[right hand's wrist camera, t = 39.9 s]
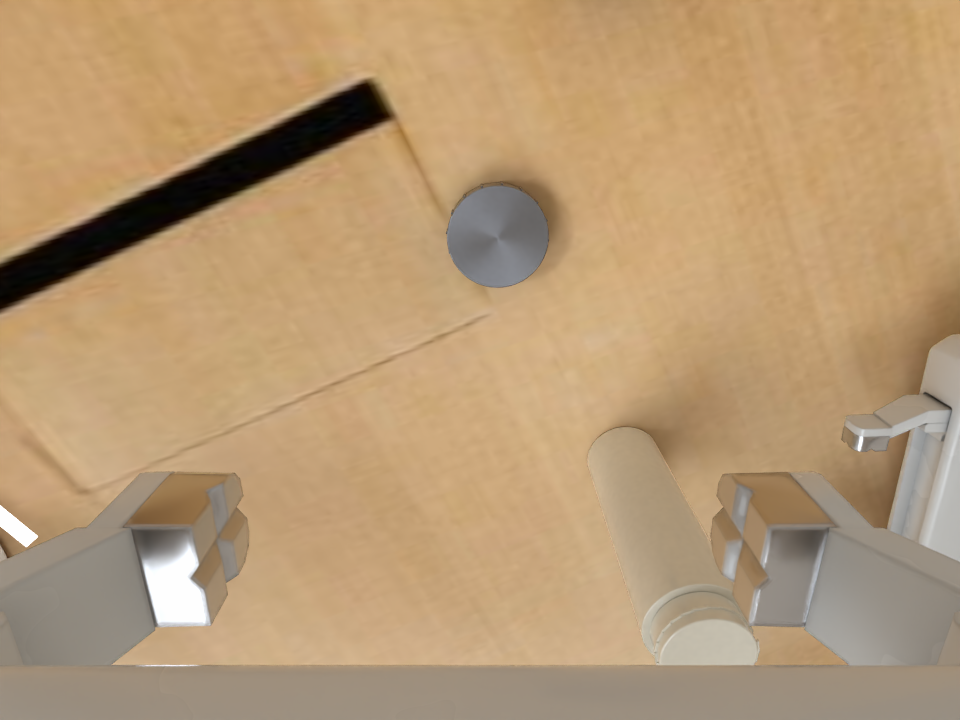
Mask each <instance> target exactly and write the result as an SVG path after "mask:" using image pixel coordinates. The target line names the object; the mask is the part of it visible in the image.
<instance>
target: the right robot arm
mask: <svg viewBox="0 0 960 720" xmlns="http://www.w3.org/2000/svg"><path fill="white" fill-rule="evenodd" d="M242 497H243V491H242V486H241V481H240V478H239V477H238V476H237V475H236V474H235V473H211V472H173V471H166V472H145V473H140V474H139V475H138V476H137V477H136V478H135V479H134V480H133V481H132V482H131V483H130V484H129V485H128V486H127V487H126V488H125V489H124V490H123V491H122V492H121V493H120V494H119V495H118V496H117V497H116V498H115V499H114V500H113V501H112V502H111V503H110V504H109V505H108V506H107V507H106V508H105V509H104V510H103V511H102V512H101V513H100V514H99V515H98V516H97V517H96V518H95V519H94V520H93V521H92V522H91V523H90V524H89V525H88V527H87V528H75V529H72V530H70V531H68V532H66V533H64V534H61V535H59V536H57V537H55V538H52V539H50V540H48V541H46V542H43V543H41V544H39V545H37V546H34V547H32V548H30V549H28V550H25V551H23V552H21V553H19V554H16V555H14V556H12V557H10V558H7V556H6V554H5V552H4V550H3V549H2V547H1V545H0V720H960V562H959V561H957V560H955V559H952V558H950V557H948V556H946V555H943V554H941V553H939V552H937V551H934V550H932V549H930V548H928V547H926V546H923V545H921V544H919V543H917V542H914V541H912V540H910V539H908V538H905V537H903V536H901V535H899V534H896V533H894V532H892V531H890V530H888V529H885V528H874V527H873V526H872V525H871V524H870V523H869V522H868V521H867V520H866V519H865V518H864V517H863V516H862V515H861V514H860V513H859V512H858V511H857V510H856V509H855V508H854V507H853V506H852V505H851V504H850V503H849V502H848V501H847V500H846V499H845V498H844V497H843V496H842V495H841V494H840V493H839V492H838V491H837V490H836V489H835V488H834V487H833V486H832V485H831V484H830V483H829V482H828V481H827V480H826V479H825V478H824V477H823V476H822V475H821V474H819V473H816V472H814V471H804V472H775V473H735V474H723V475H722V477H721V479H720V481H719V484H718V490H717V497H718V499H719V501H720V502H721V504H722V505H723V508H722V509H721V510H720V511H719V512H718V513H717V514H716V516H715V517H714V518H713V521H712V529H711V544H712V553H713V556H714V559H715V563H716V565H717V567H718V569H719V571H720V573H721V575H723V576H724V577H726V578H727V579H729V580H730V581H732V582H733V583H734V586H733V592H732V595H733V597H734V599H735V601H736V603H737V604H738V606H739V608H740V610H741V612H742V613H743V615H744V617H745V619H746V621H747V623H748V624H749V626H781V627H805V630H806V631H807V632H808V633H809V634H811V635H812V636H813V637H815V638H816V639H817V640H818V641H820V642H821V643H822V644H823V645H825V646H826V647H827V648H828V649H830V650H831V651H832V652H834V653H835V654H836V655H837V656H839V657H840V658H841V659H842V660H844V661H845V662H846V663H848V664H849V665H111V664H113V663H114V662H115V661H116V660H118V659H119V658H120V657H122V656H123V655H124V654H125V653H127V652H128V651H129V650H130V649H132V648H133V647H134V646H136V645H137V644H138V643H139V642H141V641H142V640H143V639H144V638H146V637H147V636H148V635H150V634H151V633H152V632H153V631H155V627H178V626H211V625H212V623H213V621H214V619H215V617H216V615H217V614H218V612H219V610H220V608H221V606H222V604H223V603H224V601H225V599H226V597H227V595H228V592H227V586H226V583H227V582H228V581H230V580H231V579H233V578H234V577H236V576H237V575H239V573H240V571H241V569H242V567H243V565H244V563H245V560H246V555H247V551H248V547H249V527H248V520H247V518H246V517H245V516H244V514H243V513H242V512H241V511H240V510H239V509H238V508H237V505H238V504H239V502H240V501H241V499H242ZM0 526H1V527H2V528H3V529H5V530H6V531H7V532H8V533H10V534H11V535H12V536H13V537H14V538H16V539H17V540H18V541H19V542H21V543H22V544H23V545H24V546H26V547H27V546H28V545H29V544H30V543H31V542H33V541H34V540H35V539H36V538H37V537H38V536H37V535H36V534H34V533H33V532H32V531H31V530H29V529H28V528H27V527H26V526H25V525H23V524H22V523H21V522H20V521H18V520H17V519H16V518H15V517H14V516H12V515H11V514H10V513H9V512H7V511H6V510H5V509H4V508H3V507H1V506H0Z"/></svg>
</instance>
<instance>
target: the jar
mask: <svg viewBox="0 0 960 720" xmlns="http://www.w3.org/2000/svg"><path fill="white" fill-rule="evenodd" d="M587 465H588V469H589V473H590V476H591V479H592V482H593V485H594V488H595V491H596V495H597V498H598V501H599V504H600V507H601V510H602V513H603V517H604V520H605V523H606V526H607V529H608V532H609V535H610V539H611V542H612V545H613V548H614V551H615V554H616V557H617V561H618V564H619V567H620V570H621V573H622V576H623V579H624V583H625V586H626V589H627V592H628V595H629V598H630V601H631V605H632V608H633V611H634V614H635V617H636V620H637V623H638V627H639V630H640V633H641V636H642V639H643V642H644V644H645V646H646V648H647V649H648V651H649V652H650V653H651V654H652V655H653V656H654V657H655V662H656V664H657V665H754V664H755V662H757V659H758V655H759V652H760V648H759V641H758V639H756V640H755V638H754V636H753V629H752V627H751V626H749V624H748V623H747V621H746V619H745V617H744V615H743V613H742V612H741V610H740V608H739V606H738V604H737V603H736V601H735V599H734V597H733V595H732V592H733V586H734V583H733V582H732V581H730V580H729V579H727V578H726V577H724V576H723V575H721V573H720V571H719V569H718V567H717V565H716V563H715V559H714V556H713V553H712V544H711V541H710V539H709V538H708V536H707V534H706V532H705V530H704V529H703V527H702V525H701V523H700V522H699V520H698V518H697V516H696V514H695V513H694V511H693V509H692V507H691V505H690V504H689V502H688V500H687V498H686V496H685V495H684V493H683V491H682V489H681V487H680V486H679V484H678V482H677V480H676V478H675V477H674V475H673V473H672V471H671V469H670V468H669V466H668V464H667V462H666V460H665V459H664V457H663V455H662V453H661V451H660V450H659V448H658V446H657V444H656V443H655V441H654V440H653V438H652V437H651V436H650V435H649V434H647V433H646V432H644V431H642V430H640V429H637V428H633V427H619V428H615V429H612V430H609V431H607V432H605V433H604V434H602V435H601V436H599V437H598V438H597V439H596V440H595V441H594V443H593V444H592V446H591V448H590V450H589V453H588V457H587Z"/></svg>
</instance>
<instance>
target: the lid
mask: <svg viewBox="0 0 960 720" xmlns="http://www.w3.org/2000/svg"><path fill="white" fill-rule="evenodd" d="M451 214H452V215H451V219H450V222H449V225H448V228H447V231H446V234H447V243H448V249H449V254H450V255H451V258H452V260H453V262H454V263H455V265H456V266H457V268H458V269H459V271H461V272H462V274H464V275H465V276H466V277H467V278H469V279H470V280H472V281H473V282H476V283H478V284H480V285H483V286H487V287H496V288H499V287H507V286H511V285H515V284H517V283H519V282H521V281H523V280H525V279H526V278H528V277H529V276H530V275H531V274H532V273H533V272H534V271H535V270H536V269H537V268H538V267H539V265H540V264H541V262H542V260H543V258H544V256H545V253H546V250H547V246H548V242H549V233H548V225H547V219H546V218H545V216H544V214H543V212H542V210H541V209H540V207H539V205H538V202H537V200H536V199H533V198H532V197H531V196H530V195H529V194H528V193H526V192H525V191H524V190H523V189H522V188H521V187H519V188H518V187H516V186H514V185H511V184H506V183H503V182H502V181H500V183H489V184H484V185H483V184H481V186H478V187H476V188H474V189H473V190H471V191H470V192H468V193H467V194H464V195H463V198H462V199H461V200H460V201H459V202H458V204H457V205H456V207H455V209H454V210H453V209H452V212H451Z"/></svg>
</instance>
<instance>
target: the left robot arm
mask: <svg viewBox="0 0 960 720" xmlns="http://www.w3.org/2000/svg"><path fill="white" fill-rule="evenodd" d="M909 430H910V433H909V438H908V442H907V446H906V450H905V454H904V459H903V463H902V467H901V471H900V475H899V479H898V483H897V488H896V492H895V496H894V500H893V505H892V509H891V513H890V517H889V521H888V525H887V529H888V530H890V531H892V532H894V533H896V534H899V535H901V536H903V537H905V538H908V539H910V540H912V541H914V542H917V543H919V544H921V545H923V546H926V547H928V548H930V549H932V550H934V551H937V552H939V553H941V554H943V555H946V556H948V557H950V558H952V559H955V560H957V561H959V562H960V334H953V335H950V336H948V337H946V338H945V339H943V340H941V341H940V342H938V343H937V344H935V345H934V346H933V347H931V349H930V351H929V354H928V358H927V362H926V366H925V371H924V375H923V379H922V383H921V387H920V392H919V395H903V396H902V397H900V398H898V399H896V400H895V401H893V402H891V403H889V404H887V405H886V406H884V407H882V408H880V409H878V410H877V411H875V412H873V414H865V415H848V416H846V418H845V422H844V428H843V433H842V439H841V440H842V441H843V442H844V443H845V442H847V444H848V446H849V447H850V448H851V449H853V450H856V451H860V452H867V451H869V450H870V449H872V450H874V451H886V450H887V446H888V442H889V439H890V438H893V437H895V436H897V435H900V434H902V433H904V432H907V431H909Z"/></svg>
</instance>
